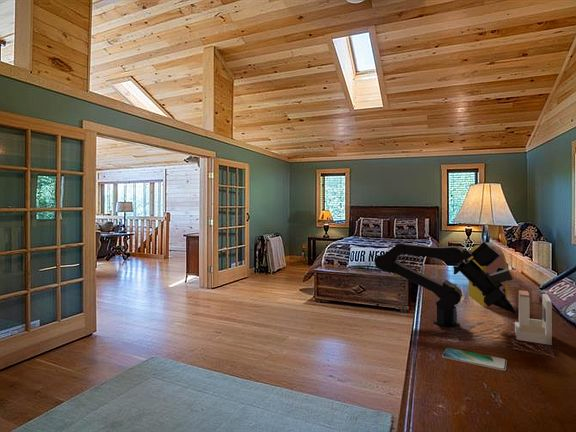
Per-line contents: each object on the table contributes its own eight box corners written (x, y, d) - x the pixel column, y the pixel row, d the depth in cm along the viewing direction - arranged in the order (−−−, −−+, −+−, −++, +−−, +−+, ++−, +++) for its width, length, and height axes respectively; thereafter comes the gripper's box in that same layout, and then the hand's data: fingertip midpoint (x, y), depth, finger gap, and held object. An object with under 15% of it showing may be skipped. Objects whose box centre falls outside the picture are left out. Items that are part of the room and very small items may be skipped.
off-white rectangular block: (519, 329, 108) (519, 294, 108) (518, 323, 114) (518, 290, 114) (529, 330, 107) (529, 295, 107) (527, 324, 113) (527, 291, 113)
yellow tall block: (508, 308, 142) (508, 244, 142) (484, 307, 144) (483, 244, 144) (489, 296, 162) (488, 240, 162) (468, 295, 164) (468, 240, 164)
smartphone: (505, 369, 86) (441, 356, 95) (505, 373, 86) (441, 359, 95) (507, 359, 92) (446, 347, 100) (507, 362, 92) (446, 349, 101)
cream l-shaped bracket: (516, 339, 107) (516, 298, 107) (514, 329, 117) (514, 291, 117) (551, 345, 103) (551, 301, 103) (547, 333, 112) (547, 294, 112)
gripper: (495, 263, 107) (539, 303, 101) (495, 257, 123) (533, 291, 117) (467, 286, 111) (508, 326, 105) (471, 277, 127) (506, 311, 121)
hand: (515, 312), depth 112 cm, fingers closed
